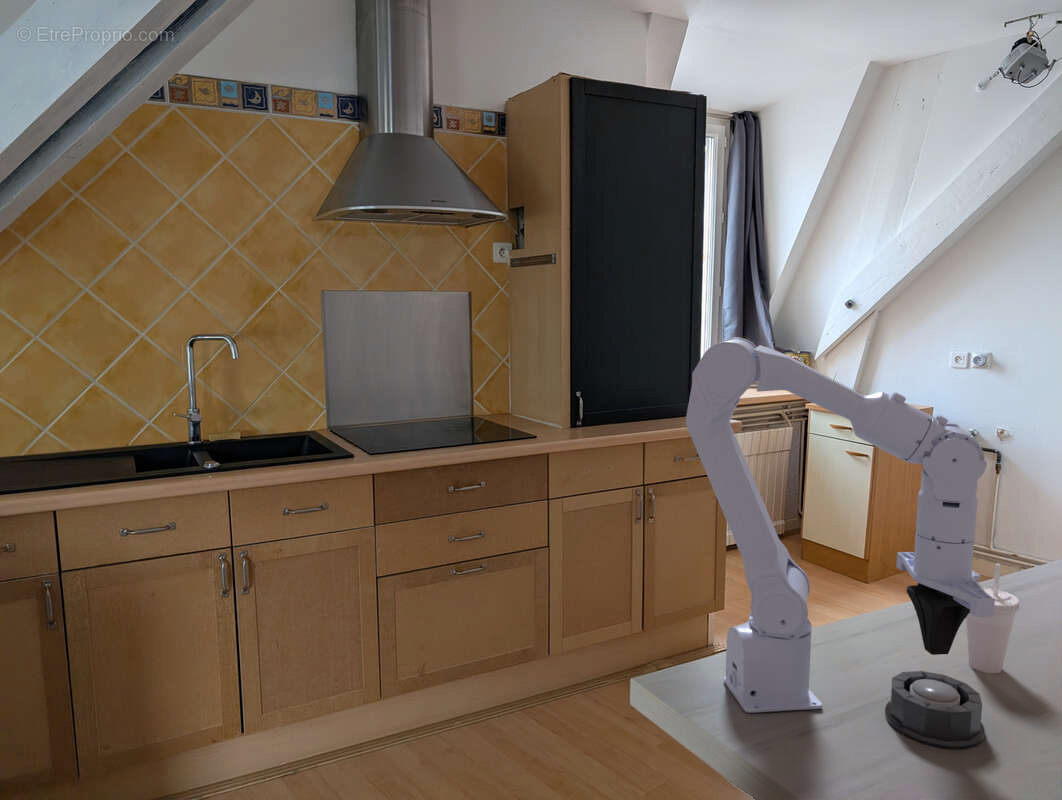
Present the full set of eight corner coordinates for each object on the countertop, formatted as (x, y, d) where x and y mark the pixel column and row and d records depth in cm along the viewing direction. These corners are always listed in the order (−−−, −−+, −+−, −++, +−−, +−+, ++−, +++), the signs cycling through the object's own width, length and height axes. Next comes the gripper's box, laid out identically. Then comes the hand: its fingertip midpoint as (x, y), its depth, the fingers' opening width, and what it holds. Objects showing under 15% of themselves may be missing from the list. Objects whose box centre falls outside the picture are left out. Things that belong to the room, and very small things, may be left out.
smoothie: (1022, 680, 96) (1031, 574, 94) (967, 676, 97) (975, 571, 95) (1002, 657, 102) (1010, 557, 100) (950, 653, 103) (957, 554, 101)
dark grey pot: (917, 752, 81) (920, 717, 80) (868, 702, 91) (869, 671, 90) (1005, 746, 82) (1008, 711, 81) (946, 698, 92) (949, 667, 91)
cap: (926, 732, 84) (928, 702, 83) (899, 708, 88) (901, 679, 88) (968, 728, 84) (970, 699, 84) (939, 705, 89) (941, 677, 89)
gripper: (1026, 556, 77) (1016, 682, 79) (938, 515, 91) (931, 622, 93) (960, 558, 76) (951, 685, 78) (882, 517, 91) (876, 625, 92)
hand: (936, 651), depth 86 cm, fingers closed
